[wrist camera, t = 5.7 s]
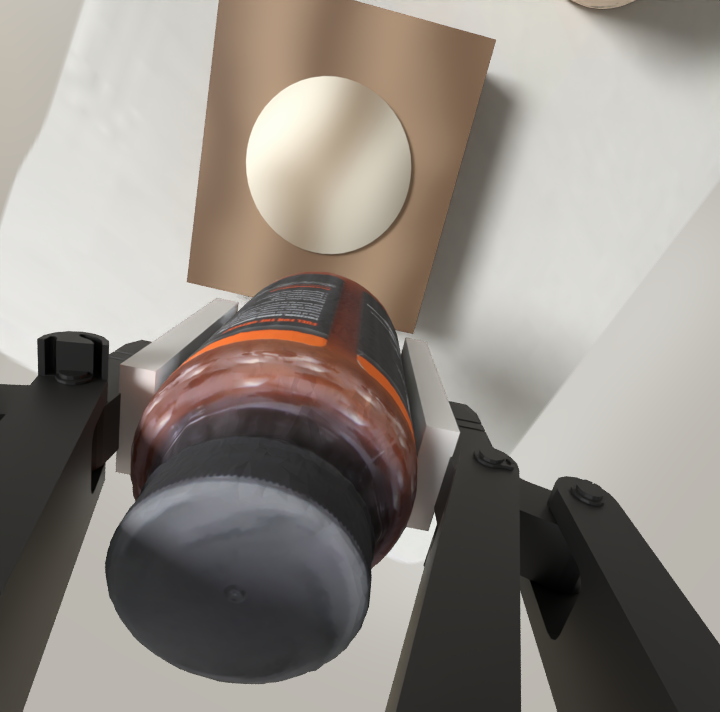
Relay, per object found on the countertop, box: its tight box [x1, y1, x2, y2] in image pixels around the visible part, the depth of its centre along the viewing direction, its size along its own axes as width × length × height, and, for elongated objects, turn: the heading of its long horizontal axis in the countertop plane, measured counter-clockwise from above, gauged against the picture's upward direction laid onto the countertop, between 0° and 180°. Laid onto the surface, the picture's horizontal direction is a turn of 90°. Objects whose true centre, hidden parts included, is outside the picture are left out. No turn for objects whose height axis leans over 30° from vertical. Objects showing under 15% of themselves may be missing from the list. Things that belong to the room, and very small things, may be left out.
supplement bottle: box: [105, 272, 418, 684], centre depth 12 cm, size 6×6×11 cm
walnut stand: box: [187, 0, 496, 334], centre depth 28 cm, size 14×16×5 cm
